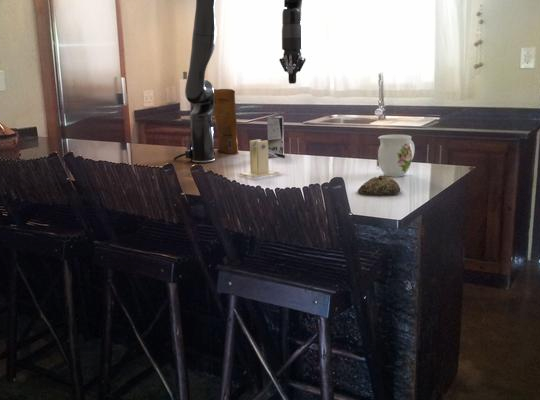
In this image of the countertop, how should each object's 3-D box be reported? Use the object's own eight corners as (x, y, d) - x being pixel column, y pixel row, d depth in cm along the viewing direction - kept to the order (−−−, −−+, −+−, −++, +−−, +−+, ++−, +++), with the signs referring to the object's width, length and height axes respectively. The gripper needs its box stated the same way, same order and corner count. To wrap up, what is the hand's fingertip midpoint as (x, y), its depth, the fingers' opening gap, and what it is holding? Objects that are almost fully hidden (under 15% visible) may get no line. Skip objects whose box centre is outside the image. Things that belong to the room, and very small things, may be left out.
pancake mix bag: (230, 155, 274) (228, 89, 268) (209, 150, 291) (206, 88, 284) (244, 153, 277) (241, 88, 271) (222, 148, 294) (219, 87, 287)
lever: (273, 158, 236) (275, 152, 236) (283, 160, 231) (286, 154, 231) (249, 146, 229) (252, 140, 229) (259, 148, 224) (262, 141, 224)
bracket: (264, 171, 237) (263, 137, 234) (279, 175, 229) (278, 140, 226) (239, 176, 231) (238, 141, 228) (254, 180, 224) (253, 143, 221)
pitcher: (426, 172, 220) (427, 132, 217) (392, 180, 211) (393, 139, 207) (400, 168, 229) (401, 130, 226) (366, 176, 220) (366, 136, 216)
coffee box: (283, 157, 264) (282, 118, 260) (267, 157, 266) (266, 118, 262) (284, 153, 273) (283, 115, 269) (269, 153, 274) (268, 115, 270)
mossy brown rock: (399, 197, 189) (399, 180, 188) (356, 195, 194) (356, 179, 193) (402, 187, 201) (402, 172, 199) (361, 186, 205) (362, 171, 204)
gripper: (272, 37, 243) (273, 83, 247) (295, 36, 231) (296, 84, 236) (288, 36, 246) (288, 82, 250) (311, 35, 235) (311, 83, 239)
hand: (292, 83), depth 243 cm, fingers closed
